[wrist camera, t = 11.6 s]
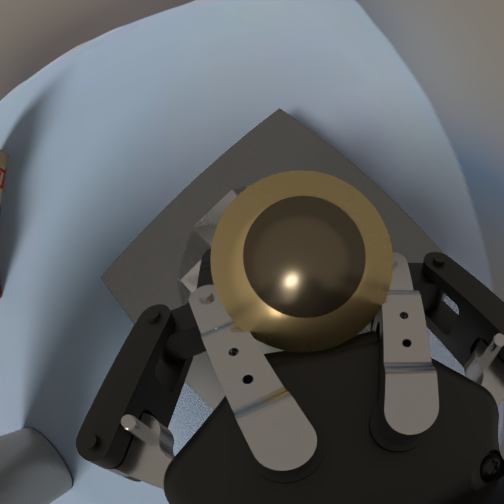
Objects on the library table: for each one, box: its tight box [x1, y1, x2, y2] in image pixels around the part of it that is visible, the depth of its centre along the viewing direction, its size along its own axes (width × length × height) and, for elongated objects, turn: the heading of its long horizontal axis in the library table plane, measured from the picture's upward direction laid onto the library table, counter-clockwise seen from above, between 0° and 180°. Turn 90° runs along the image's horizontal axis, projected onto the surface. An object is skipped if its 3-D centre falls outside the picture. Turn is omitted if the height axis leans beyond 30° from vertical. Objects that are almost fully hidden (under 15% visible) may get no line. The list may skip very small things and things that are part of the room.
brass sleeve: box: [210, 170, 393, 352], centre depth 12 cm, size 5×5×10 cm
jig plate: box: [102, 108, 446, 410], centre depth 18 cm, size 18×18×3 cm
